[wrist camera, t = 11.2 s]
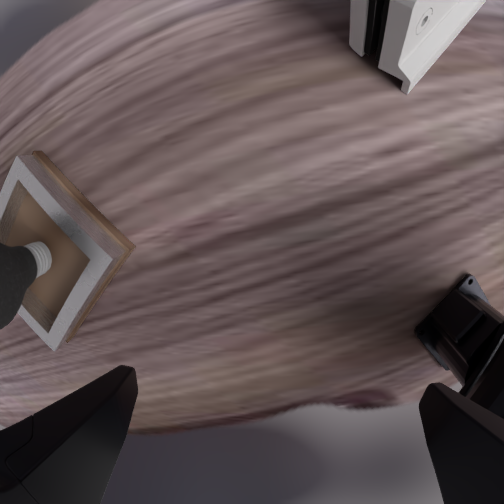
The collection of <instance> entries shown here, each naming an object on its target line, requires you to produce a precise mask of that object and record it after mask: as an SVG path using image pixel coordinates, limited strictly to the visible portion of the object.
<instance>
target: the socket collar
mask: <svg viewBox="0 0 504 504" xmlns="http://www.w3.org/2000/svg"><path fill="white" fill-rule="evenodd" d="M27 192H29V193H30V194H31V195H32V197H33V198H34V199H35V200H36V201H37V203H38V204H39V205H40V206H41V207H42V208H43V209H44V211H45V212H46V213H47V214H48V215H49V216H50V217H51V218H52V220H53V221H54V222H55V223H56V224H57V225H58V226H59V227H60V228H61V229H62V231H63V232H64V233H65V234H66V235H67V236H68V237H69V238H70V239H71V240H72V241H73V242H74V243H75V244H76V245H77V246H78V247H79V248H80V250H81V251H82V252H83V253H84V254H85V255H86V256H87V257H88V258H89V259H90V262H89V263H88V265H87V266H86V268H85V270H84V271H83V273H82V274H81V276H80V278H79V279H78V281H77V283H76V284H75V286H74V288H73V290H72V291H71V293H70V295H69V296H68V298H67V300H66V302H65V304H64V305H63V307H62V309H61V311H60V313H59V314H58V316H57V318H56V317H55V316H54V315H53V314H52V313H51V312H50V311H49V309H48V308H47V307H46V306H45V305H44V304H43V303H42V302H41V301H40V300H39V299H38V298H37V297H36V295H35V294H34V293H33V292H32V291H31V290H30V289H29V288H27V290H26V292H25V295H24V298H23V301H22V304H21V307H20V308H19V310H18V312H17V313H18V314H19V315H20V316H21V317H22V318H23V320H24V321H25V322H26V323H27V324H28V325H29V326H30V327H31V328H32V329H33V330H34V332H35V333H36V334H37V335H38V336H39V337H40V338H41V339H42V340H43V341H44V342H45V343H46V344H47V345H48V346H49V347H50V348H51V349H52V350H53V351H54V352H55V351H56V350H57V349H58V348H59V347H60V346H61V345H62V344H63V343H64V342H65V341H66V340H67V339H68V337H69V335H70V334H71V332H72V330H73V329H74V327H75V326H76V324H77V322H78V321H79V319H80V318H81V316H82V315H83V313H84V311H85V310H86V308H87V307H88V305H89V304H90V302H91V301H92V299H93V298H94V296H95V295H96V293H97V292H98V290H99V289H100V287H101V286H102V284H103V283H104V281H105V280H106V278H107V277H108V275H109V274H110V273H111V271H112V270H113V268H114V267H115V265H116V264H117V263H118V261H119V260H120V258H121V257H122V256H123V254H124V253H125V252H126V250H125V249H124V248H123V247H122V246H121V245H120V244H119V243H118V242H117V241H116V240H114V239H113V238H112V237H111V236H110V235H109V234H108V233H107V232H106V231H105V230H104V229H103V228H102V227H101V226H100V225H99V224H98V223H97V222H96V221H95V220H94V219H93V218H92V217H91V216H90V215H89V214H88V213H87V212H86V211H85V210H84V209H83V208H82V207H81V206H80V204H79V203H78V202H77V201H76V200H75V199H74V198H73V197H72V196H71V195H70V194H69V193H68V192H67V191H66V190H65V189H64V188H63V187H62V185H61V184H60V183H59V182H58V181H57V180H56V179H55V178H54V177H53V176H52V175H51V173H50V172H49V171H48V170H47V169H46V168H45V167H44V166H43V165H42V163H41V162H40V161H39V160H38V159H37V158H36V157H35V155H17V156H16V158H15V160H14V162H13V164H12V167H11V169H10V171H9V173H8V175H7V178H6V180H5V182H4V185H3V187H2V190H1V192H0V243H2V244H4V245H5V244H6V241H7V238H8V236H9V233H10V231H11V228H12V226H13V223H14V221H15V219H16V216H17V214H18V212H19V209H20V207H21V205H22V203H23V200H24V198H25V196H26V194H27Z"/></svg>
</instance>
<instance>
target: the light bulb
mask: <svg viewBox="0 0 504 504" xmlns="http://www.w3.org/2000/svg"><path fill="white" fill-rule="evenodd" d="M51 263H52V258H51V254H50V251H49V249H48V247H47V246H46V245H45V244H44V243H42V242H39V241H38V242H33V243H30V244H27V245H25V246H14V247H10V246H6V245H4V244H2V243H0V329H2V328H3V327H5V326H6V325H8V324H9V323H10V322H11V321H12V320H13V318H14V317H15V315H16V313H17V312H18V310H19V308H20V307H21V304H22V301H23V298H24V295H25V292H26V290H27V288H28V287H29V286H30V285H31V284H32V283H33V282H34V281H35V279H36V278H37V277H39V276H41V275H42V274H45V273H46V272H47V271H48V270H49V269H50V267H51Z"/></svg>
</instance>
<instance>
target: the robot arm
mask: <svg viewBox="0 0 504 504" xmlns="http://www.w3.org/2000/svg"><path fill="white" fill-rule="evenodd" d="M469 280H470V282H469V283H468V281H469ZM421 330H423V331H422V332H421V333H419V332H420V331H421ZM415 335H416V336H417V337H418V338H419V339H420V341H421V342H422V343H423V344H424V345H425V346H426V348H427V349H428V350H429V351H430V352H431V353H432V355H433V356H434V357H435V358H436V359H437V360H438V362H439V363H440V364H441V365H442V366H443V368H444V369H445V370H451V371H452V373H453V374H454V375H455V377H456V378H457V380H458V381H459V382H460V384H461V385H462V386H463V387H462V389H461V390H460V391H459V393H458V392H456V391H454V390H452V389H451V388H449V387H447V386H446V385H444V384H442V383H431V384H429V385H428V387H427V388H426V390H425V392H424V394H423V396H422V398H421V400H420V403H419V411H420V416H421V420H422V424H423V429H424V433H425V438H426V443H427V447H428V450H429V453H430V456H431V459H432V463H433V466H434V469H435V473H436V476H437V480H438V483H439V486H440V490H441V494H442V498H443V501H444V504H504V316H503V315H502V314H501V313H499V312H498V311H497V310H496V309H494V308H493V307H492V306H491V305H490V303H489V302H488V300H487V298H486V296H485V294H484V292H483V291H482V289H481V287H480V285H479V284H478V282H477V280H476V279H475V277H474V276H473V275H471V274H468V275H466V276H465V277H464V278H463V279H462V281H461V282H460V283H459V284H458V285H457V286H456V287H455V288H454V289H453V291H452V292H451V293H450V294H449V295H448V296H447V297H446V298H445V299H444V300H443V301H442V302H441V303H440V304H439V305H438V306H437V307H436V308H435V309H434V310H433V311H432V312H431V313H430V314H429V315H428V316H427V317H426V318H425V319H424V320H423V321H422V322H421V323H420V324H419V325H418V326H417V327H416V329H415ZM137 395H138V386H137V378H136V371H135V369H134V368H133V367H129V366H125V365H120V366H118V367H116V368H115V369H113V370H111V371H109V372H108V373H106V374H104V375H103V376H101V377H99V378H97V379H96V380H94V381H92V382H90V383H89V384H87V385H85V386H83V387H82V388H80V389H78V390H76V391H75V392H73V393H71V394H69V395H67V396H66V397H64V398H62V399H60V400H58V401H57V402H55V403H53V404H51V405H49V406H48V407H46V408H44V409H42V410H40V411H39V412H37V413H35V414H34V415H33V416H32V415H31V416H29V417H27V418H25V419H24V420H22V421H20V422H18V423H16V424H14V425H12V426H10V427H7V428H5V429H3V430H0V504H100V503H101V500H102V498H103V495H104V492H105V490H106V487H107V484H108V482H109V479H110V476H111V474H112V472H113V469H114V466H115V464H116V461H117V459H118V456H119V454H120V451H121V449H122V446H123V444H124V441H125V438H126V435H127V432H128V428H129V424H130V421H131V417H132V413H133V409H134V406H135V402H136V399H137Z"/></svg>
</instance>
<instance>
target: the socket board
mask: <svg viewBox="0 0 504 504" xmlns="http://www.w3.org/2000/svg"><path fill="white" fill-rule="evenodd" d="M32 155H35V157H36V158H37V159H38V160H39V161H40V162H41V163H42V165H43V166H44V167H45V168H46V169H47V170H48V171H49V172H50V173H51V175H52V176H53V177H54V178H55V179H56V180H57V181H58V182H59V183H60V184H61V185H62V187H63V188H64V189H65V190H66V191H67V192H68V193H69V194H70V195H71V196H72V197H73V198H74V199H75V200H76V201H77V202H78V203H79V204H80V206H81V207H82V208H83V209H84V210H85V211H86V212H87V213H88V214H89V215H90V216H91V217H92V218H93V219H94V220H95V221H96V222H97V223H98V224H99V225H100V226H101V227H102V228H103V229H104V230H105V231H106V232H107V233H108V234H109V235H110V236H111V237H112V238H113V239H114V240H116V241H117V242H118V243H119V244H120V245H121V246H122V247H123V248H124V249H125V250H126V252H125V253H124V254H123V256H122V257H121V258H120V260H119V261H118V263H117V264H116V265H115V267H114V268H113V270H112V271H111V273H110V274H109V275H108V277H107V278H106V280H105V281H104V283H103V284H102V286H101V287H100V289H99V290H98V292H97V293H96V295H95V296H94V298H93V299H92V301H91V302H90V304H89V305H88V307H87V308H86V310H85V311H84V313H83V315H82V316H81V318H80V319H79V321H78V322H77V324H76V326H75V327H74V329H73V330H72V332H71V334H70V335H69V337H68V339H67V340H66V342H67V343H68V342H69V341H70V340H71V339H72V338H73V337H74V335H75V334H76V332H77V331H78V329H79V327H80V326H81V324H82V323H83V321H84V320H85V318H86V317H87V315H88V314H89V312H90V311H91V309H92V308H93V306H94V305H95V303H96V302H97V300H98V299H99V297H100V296H101V294H102V293H103V291H104V290H105V288H106V287H107V286H108V284H109V283H110V281H111V280H112V278H113V277H114V276H115V274H116V273H117V271H118V270H119V269H120V267H121V266H122V265H123V263H124V262H125V260H126V259H127V258H128V256H129V255H130V254H131V252H132V251H133V250H134V248H135V246H134V245H133V244H132V243H131V242H130V241H129V240H128V239H127V238H126V237H125V236H124V235H123V234H122V233H121V232H120V231H119V230H118V229H117V228H116V227H114V226H113V225H112V224H111V223H110V222H109V221H108V220H107V219H106V218H105V217H104V216H103V215H102V214H101V213H100V212H99V211H98V210H97V209H96V208H95V207H94V206H93V205H92V204H91V203H90V202H89V201H88V200H87V199H86V198H85V197H84V196H83V195H82V194H81V193H80V192H79V190H78V189H77V188H76V187H75V186H74V185H73V184H72V183H71V182H70V181H69V180H68V179H67V178H66V177H65V176H64V175H63V174H62V173H61V172H60V170H59V169H58V168H57V167H56V166H55V165H54V164H53V163H52V162H51V161H50V160H49V158H48V157H47V156H46V155H45V154H44V153H43V152H42V151H34V152H33V153H32ZM38 241H39V242H42V243H44V244H45V245H46V246H47V247H48V249H49V251H50V254H51V258H52V263H51V267H50V269H49V270H48V271H47V272H46V273H45V274H42V275H41V276H39V277H37V278H36V279H35V281H34V282H33V283H32V284H31V285H30V286H29V287H28V288H29V289H30V290H31V291H32V292H33V293H34V294H35V295H36V297H37V298H38V299H39V300H40V301H41V302H42V303H43V304H44V305H45V306H46V307H47V308H48V309H49V311H50V312H51V313H52V314H53V315H54V316H55V317H56V318H57V316H58V314H59V313H60V311H61V309H62V307H63V305H64V304H65V302H66V300H67V298H68V296H69V295H70V293H71V291H72V290H73V288H74V286H75V284H76V283H77V281H78V279H79V278H80V276H81V274H82V273H83V271H84V270H85V268H86V266H87V265H88V263H89V262H90V259H89V258H88V257H87V256H86V255H85V254H84V253H83V252H82V251H81V250H80V248H79V247H78V246H77V245H76V244H75V243H74V242H73V241H72V240H71V239H70V238H69V237H68V236H67V235H66V234H65V233H64V232H63V231H62V229H61V228H60V227H59V226H58V225H57V224H56V223H55V222H54V221H53V220H52V218H51V217H50V216H49V215H48V214H47V213H46V212H45V211H44V209H43V208H42V207H41V206H40V205H39V204H38V203H37V201H36V200H35V199H34V198H33V197H32V195H31V194H30V193H29V192H27V194H26V196H25V198H24V200H23V203H22V205H21V207H20V209H19V212H18V214H17V216H16V219H15V221H14V223H13V226H12V228H11V231H10V233H9V236H8V238H7V241H6V244H5V245H6V246H10V247H14V246H25V245H27V244H30V243H33V242H38Z"/></svg>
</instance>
